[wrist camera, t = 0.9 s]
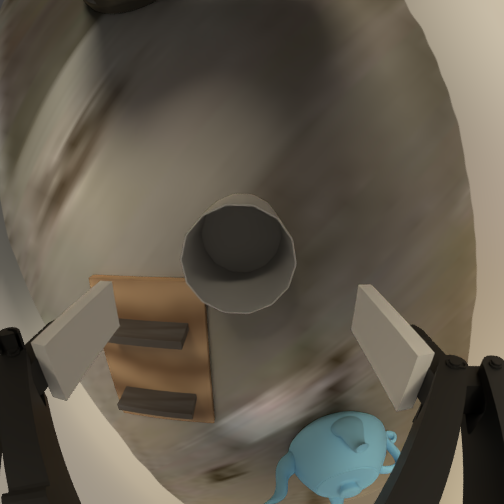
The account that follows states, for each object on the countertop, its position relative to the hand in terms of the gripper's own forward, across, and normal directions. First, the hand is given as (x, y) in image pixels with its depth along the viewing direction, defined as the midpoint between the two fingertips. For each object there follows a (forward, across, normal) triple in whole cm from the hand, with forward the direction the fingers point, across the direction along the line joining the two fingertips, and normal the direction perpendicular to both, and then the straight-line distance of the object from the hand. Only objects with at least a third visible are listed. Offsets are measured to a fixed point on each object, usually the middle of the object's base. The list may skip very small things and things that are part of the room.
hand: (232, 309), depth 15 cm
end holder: (+16, -11, -16) cm, 25 cm away
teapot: (+17, +14, -33) cm, 39 cm away
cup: (+17, 0, 0) cm, 17 cm away
